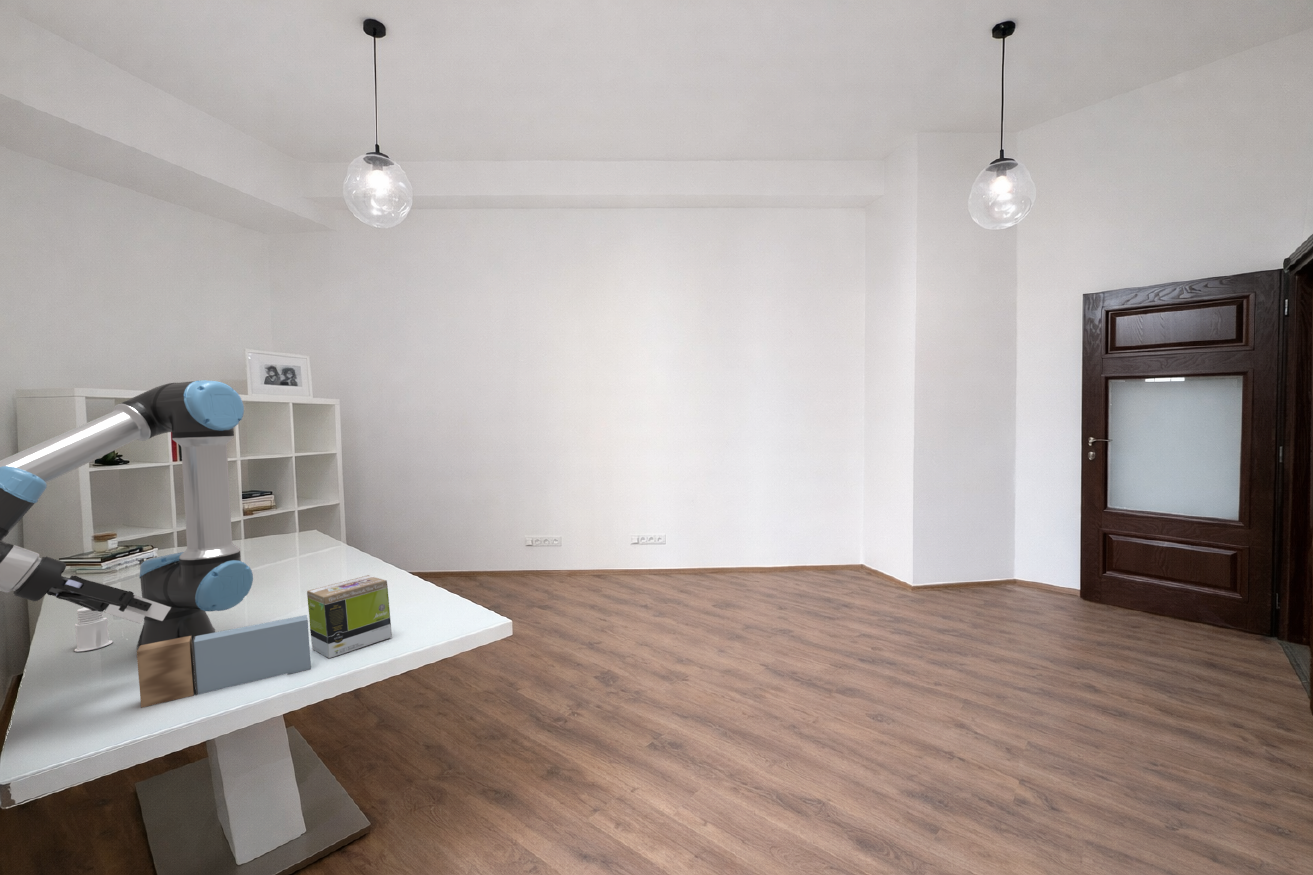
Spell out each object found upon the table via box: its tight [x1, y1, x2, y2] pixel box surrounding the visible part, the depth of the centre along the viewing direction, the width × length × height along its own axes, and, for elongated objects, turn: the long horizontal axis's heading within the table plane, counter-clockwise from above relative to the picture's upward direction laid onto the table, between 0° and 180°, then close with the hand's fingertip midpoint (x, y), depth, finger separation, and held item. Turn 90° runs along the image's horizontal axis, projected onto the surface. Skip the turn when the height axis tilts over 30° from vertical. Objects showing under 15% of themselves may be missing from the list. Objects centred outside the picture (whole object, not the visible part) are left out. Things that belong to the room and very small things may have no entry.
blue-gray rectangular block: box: [192, 614, 312, 696], centre depth 126 cm, size 20×4×11 cm, turn 124°
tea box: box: [306, 574, 393, 659], centre depth 143 cm, size 15×10×15 cm
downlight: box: [73, 607, 114, 653], centre depth 148 cm, size 8×7×10 cm
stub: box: [136, 636, 196, 709], centre depth 118 cm, size 8×4×11 cm, turn 124°
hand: (155, 615), depth 121 cm, fingers open, 13 cm apart
